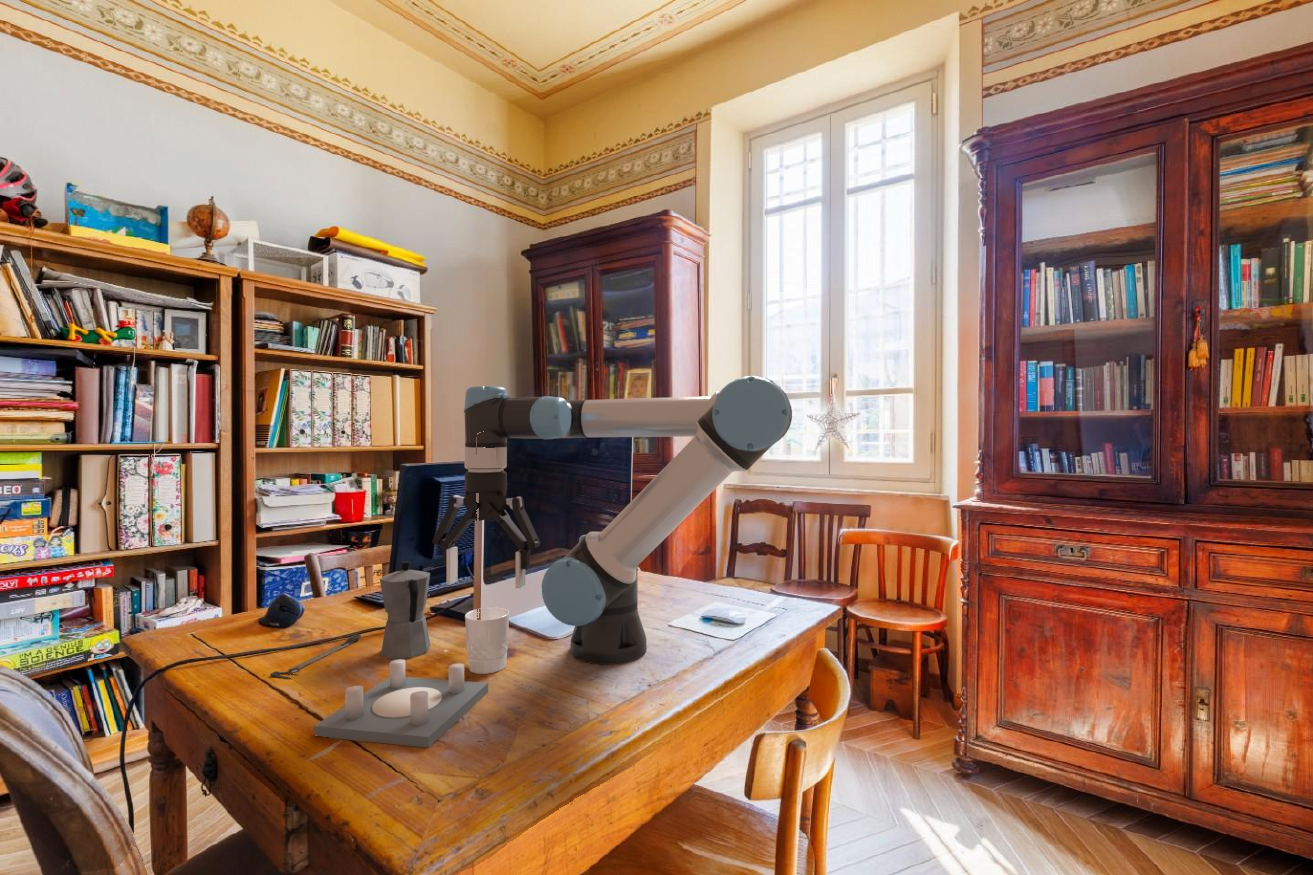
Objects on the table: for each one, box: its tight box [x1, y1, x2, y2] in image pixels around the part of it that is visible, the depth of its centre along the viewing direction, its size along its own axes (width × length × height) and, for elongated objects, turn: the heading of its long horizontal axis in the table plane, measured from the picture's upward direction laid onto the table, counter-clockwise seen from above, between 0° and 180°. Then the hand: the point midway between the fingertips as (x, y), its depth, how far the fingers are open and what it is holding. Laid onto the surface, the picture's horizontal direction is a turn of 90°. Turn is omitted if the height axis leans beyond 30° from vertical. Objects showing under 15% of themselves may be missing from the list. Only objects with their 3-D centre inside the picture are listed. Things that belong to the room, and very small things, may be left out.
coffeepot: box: [379, 560, 431, 660], centre depth 118 cm, size 15×9×18 cm, turn 33°
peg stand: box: [313, 659, 489, 748], centre depth 93 cm, size 18×18×6 cm
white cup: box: [464, 606, 510, 675], centre depth 111 cm, size 8×8×10 cm
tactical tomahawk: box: [269, 633, 362, 681], centre depth 116 cm, size 21×7×1 cm, turn 166°
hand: (485, 584), depth 111 cm, fingers open, 13 cm apart
